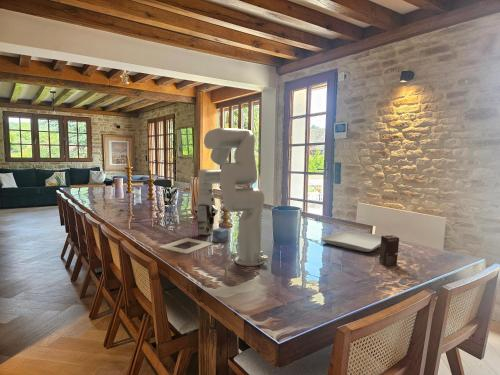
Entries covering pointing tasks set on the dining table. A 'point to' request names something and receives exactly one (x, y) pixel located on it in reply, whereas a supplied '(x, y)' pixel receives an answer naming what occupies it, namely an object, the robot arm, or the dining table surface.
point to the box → (389, 250)
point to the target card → (189, 250)
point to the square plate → (354, 240)
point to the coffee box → (204, 220)
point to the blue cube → (220, 235)
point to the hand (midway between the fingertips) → (205, 222)
